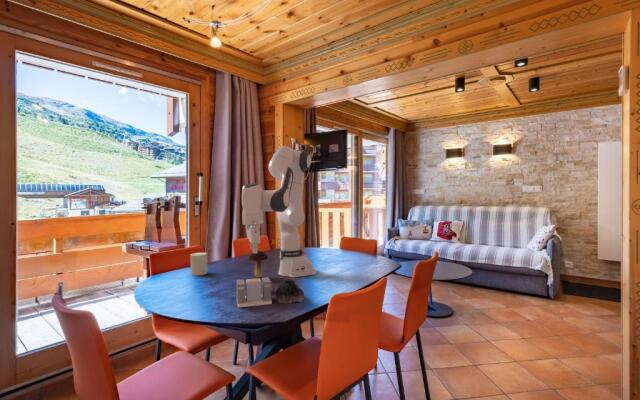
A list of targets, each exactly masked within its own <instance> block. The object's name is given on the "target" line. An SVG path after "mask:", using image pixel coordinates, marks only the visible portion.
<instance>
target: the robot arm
mask: <svg viewBox="0 0 640 400" xmlns="http://www.w3.org/2000/svg"><path fill="white" fill-rule="evenodd" d="M311 163H312V157H311V154H310V153H309V152H308V151H305V150H297V149H293V148H292V147H291V146H288V145H282V146H280V147H279V148H278V149H277V150H275V151H274V152H273V154H272V157H271V159H270V160H269V162H268V171H269V174H270V176H271V177H273V178H274V179H276V180H279V181H280V182H281V183H280V187H279V188H278V189H277V188H276V189H273V190H270V189H269V190H265V189H263V188H262V187H261V185H260V183H258V182H252V183H251V182H250V183H247V184H244V185H243V186H242V190H241V206H242V212H241V217H242V218H241V219H242V220H241V221H242V225H243V226H245V231H246V233H245V234H246V237H247V239H248V241H249V246H250V250H252V253H254V254H255V253H257V251H258V247H259V244H261V232H260V231H261V229H260V228H261V225H262V224H263V223H264V219H263V217H264V216H263V212H274V213H275V212H276V218H277V220H278V227H279V234H280V250H279V259H280V262H279V269H278V275H279V276H282V277H289V278H299V277H305V276H306V277H307V276H312V275H313V276H314V275H317V273H318V271H317V270H316V269H315V268H314V266H313V263H312V261H311V260H310V259H308V257H306V256H305V255H306V251H305V250H304V249H301V244H300V243H301V240H300V239H301V237H300V236H301V235H300V233H299V230H298V226H301V225H302V224H303V223H304V222H305V219H306V218H305V217H306V216H305V213H304V208H303V207H304V206H303V191H304V183H305V172H306V171H307V170H308V169H309V168H310V166H311Z"/></svg>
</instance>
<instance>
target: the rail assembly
mask: <svg viewBox="0 0 640 400" xmlns="http://www.w3.org/2000/svg"><path fill="white" fill-rule="evenodd" d="M235 298H236V304H237V308H246V307H248V308H249V307H255V306H256V307H257V306H264V305H265V306H266V305H272V303H273V302H272V281H271V278H270V277H265V276H264V277H261V300H255V301H247V299H246V282H245V280H244V278H243V279H236V297H235Z"/></svg>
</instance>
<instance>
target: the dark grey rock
mask: <svg viewBox="0 0 640 400" xmlns="http://www.w3.org/2000/svg"><path fill="white" fill-rule="evenodd" d="M274 295H275V299H276V301H278V303H280V304H295V303H300V302H302V301H304V299H305V294H304V291H303V290H302V289H301V288H300V287H299V285H297V284H296V281H294V280H293V279H285V280H282V281H281V283H280V284H279V286H278V288H276V290H275V292H274Z"/></svg>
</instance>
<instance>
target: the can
mask: <svg viewBox="0 0 640 400" xmlns="http://www.w3.org/2000/svg"><path fill="white" fill-rule="evenodd" d="M206 274H208V253H207V252H194V253H191V254H190V275H191V276H205V275H206Z"/></svg>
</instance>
